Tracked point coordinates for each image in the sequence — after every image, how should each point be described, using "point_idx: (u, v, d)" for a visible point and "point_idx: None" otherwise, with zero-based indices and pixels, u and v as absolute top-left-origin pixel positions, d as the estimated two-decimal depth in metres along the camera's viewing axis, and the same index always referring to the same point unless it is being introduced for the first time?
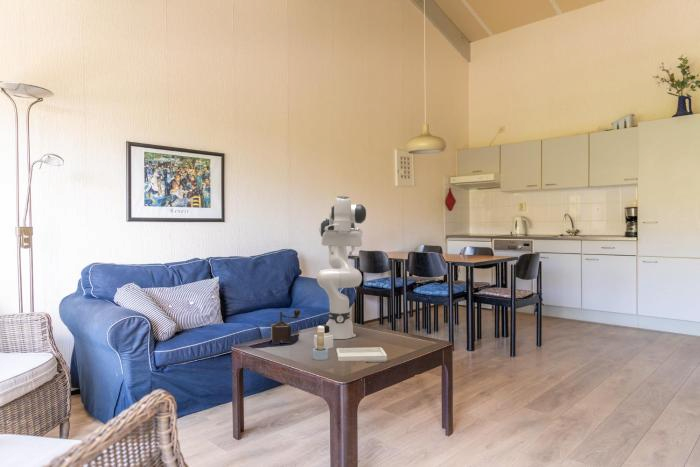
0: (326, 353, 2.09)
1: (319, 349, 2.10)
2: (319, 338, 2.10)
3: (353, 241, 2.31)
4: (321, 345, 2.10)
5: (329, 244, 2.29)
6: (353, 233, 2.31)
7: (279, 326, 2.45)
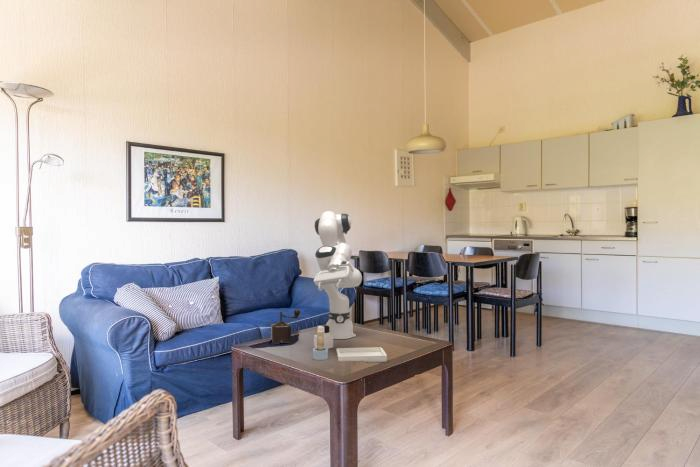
0: (326, 353, 2.09)
1: (319, 349, 2.10)
2: (319, 338, 2.10)
3: None
4: (321, 345, 2.10)
5: None
6: None
7: (279, 326, 2.45)
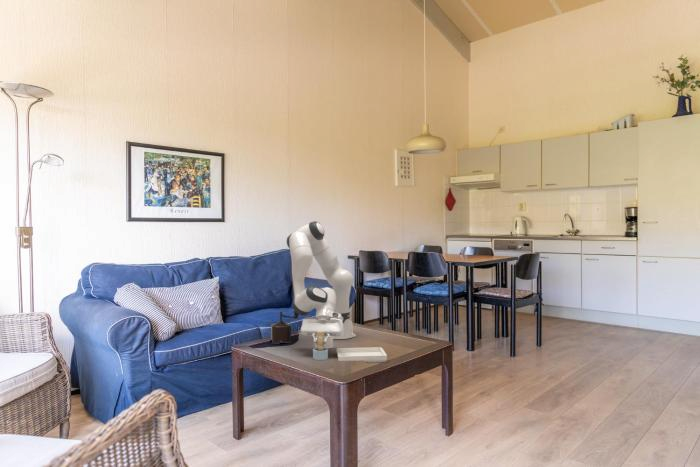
0: (326, 353, 2.09)
1: (319, 349, 2.10)
2: (319, 338, 2.10)
3: None
4: (321, 345, 2.10)
5: None
6: None
7: (279, 326, 2.45)
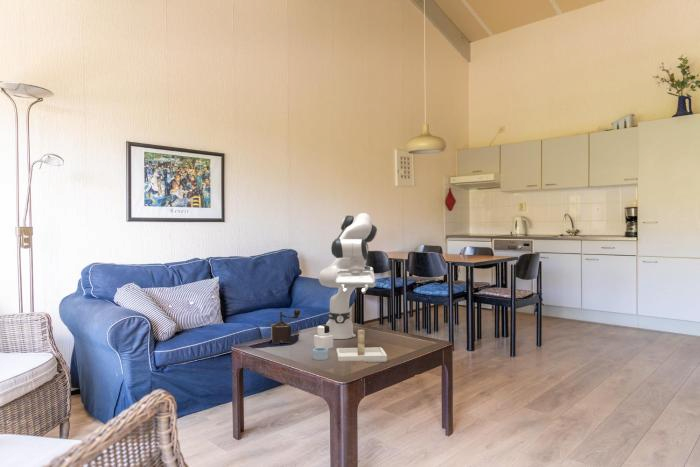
0: (326, 353, 2.09)
1: (360, 347, 2.13)
2: (360, 336, 2.13)
3: None
4: (362, 343, 2.14)
5: None
6: None
7: (279, 326, 2.45)
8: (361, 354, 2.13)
